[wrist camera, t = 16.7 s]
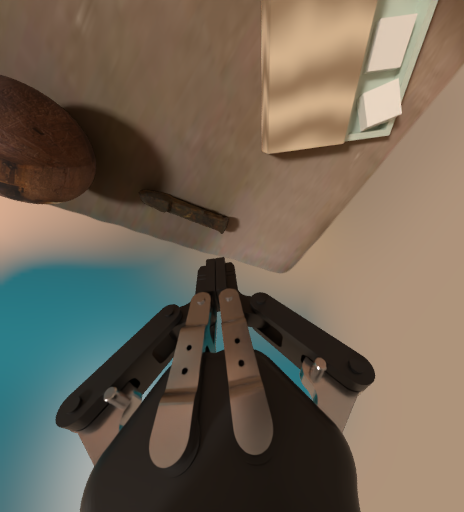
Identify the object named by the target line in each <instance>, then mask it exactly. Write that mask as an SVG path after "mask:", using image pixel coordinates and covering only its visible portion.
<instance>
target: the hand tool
mask: <svg viewBox="0 0 464 512" xmlns="http://www.w3.org/2000/svg"><path fill="white" fill-rule="evenodd" d="M139 194H140V198H141V199H142V201H143V203H144V204H146V205H148V206H150V207H153V208H155V209H157V210H159V211H161V212H169V213H172V214H175V215H178V216H180V217H183V218H185V219H188V220H190V221H193V222H196V223H199V224H201V225H204V226H206V227H209V228H212V229H215V230H217V231H219V232H220V233H221V234H223V233H224V231H225V229H226V228H227V224H228V217H223V216H221V215H217V214H214V213H212V212H210V211H206V210H204V209H201V208H200V207H197V206H194V205H191V204H189V203H186V202H184V201H181V200H178V199H176V198H174V197H172V196H171V195H169V194H166V193H162V192H157V191H151V190H141V191H140V192H139Z"/></svg>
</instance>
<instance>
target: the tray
mask: <svg viewBox="0 0 464 512" xmlns="http://www.w3.org/2000/svg"><path fill="white" fill-rule="evenodd" d="M437 2H438V0H377V5H376V9H375V13H374V17H373V22H372V26H371V30H370V34H369V38H368V43H367V47H366V51H365V55H364V60H363V64H362V68H361V72H360V76H359V81H358V85H357V89H356V93H355V98H354V102H353V106H352V110H351V114H350V119H349V123H348V127H347V131H346V136H345V140H344V141H352V140H359V139H366V138H374V137H381V136H388V135H390V132H391V129H392V126H393V124H394V121H395V118H394V119H393V120H390V121H388V122H385V123H382V124H380V125H377V126H375V127H372V128H370V129H367V130H364V131H362V132H361V131H360V124H359V116H358V109H357V101H356V100H357V99H358V98H359V97H360V96H361V95H362V94H363V93H365V92H368V91H370V90H372V89H374V88H377V87H379V86H381V85H384V84H386V83H388V82H391V81H393V80H395V79H398V78H399V86H400V98H401V102H402V99H403V96H404V93H405V90H406V88H407V85H408V82H409V79H410V77H411V74H412V71H413V68H414V66H415V63H416V60H417V57H418V55H419V52H420V49H421V46H422V44H423V41H424V38H425V35H426V32H427V30H428V27H429V24H430V21H431V19H432V16H433V13H434V10H435V8H436V5H437ZM416 13H418V15H417V18H416V21H415V24H414V27H413V30H412V33H411V36H410V39H409V42H408V45H407V48H406V51H405V54H404V57H403V60H402V63H401V66H400V67H399V68H396V69H394V70H391V71H385V72H378V73H371V74H363V75H362V73H363V69H364V65H365V61H366V57H367V53H368V49H369V45H370V40H371V36H372V32H373V28H374V24H375V22H377V21H378V20H380V19H381V18H387V17H394V16H402V15H409V14H416Z"/></svg>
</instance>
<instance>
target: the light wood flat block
mask: <svg viewBox="0 0 464 512" xmlns="http://www.w3.org/2000/svg"><path fill="white" fill-rule="evenodd" d="M376 5H377V0H261V62H262V151H263V152H265V153H267V154H271V153H279V152H286V151H293V150H301V149H308V148H315V147H322V146H330V145H337V144H344V140H345V136H346V131H347V127H348V123H349V119H350V114H351V110H352V106H353V102H354V98H355V93H356V89H357V85H358V81H359V76H360V72H361V68H362V64H363V60H364V55H365V51H366V47H367V43H368V38H369V34H370V30H371V26H372V22H373V17H374V13H375V9H376Z"/></svg>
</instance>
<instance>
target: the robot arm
mask: <svg viewBox="0 0 464 512" xmlns="http://www.w3.org/2000/svg"><path fill="white" fill-rule="evenodd" d="M197 276H198V277H197V284H196V293H195V295H194V296H193V298H192V300H191V302H190V303H188V304H186V305H184V306H181V307H179V306H177V305H175V304H173V305H168V306H166V307H164V308H163V309H162V310H161V311H160V312H159V313H157V314H156V315H155V316H154V317H153V318H152V319H151V320H150V321H149V322H148V323H147V324H146V325H145V326H144V327H143V328H142V329H140V330H139V331H138V332H137V333H136V334H135V335H134V336H133V337H132V338H131V339H130V340H129V341H127V342H126V343H125V344H124V345H123V346H122V347H121V348H120V349H119V350H118V351H117V352H116V353H114V354H113V355H112V356H111V357H110V358H109V359H108V360H107V361H106V362H105V363H104V364H103V365H102V366H101V367H99V368H98V369H97V370H96V371H95V372H94V373H93V374H92V375H91V376H90V377H89V378H88V379H87V380H85V382H83V383H82V384H81V385H80V386H79V387H78V388H77V389H76V390H75V391H74V392H73V393H71V394H70V395H69V396H68V397H67V399H66V400H65V401H64V402H63V403H62V405H61V406H60V408H59V410H58V412H57V415H56V424H57V426H59V427H61V428H65V429H68V430H70V431H72V432H75V433H78V435H79V436H80V438H81V440H82V443H83V444H84V446H85V448H86V450H87V452H88V454H89V456H90V458H91V460H92V462H93V464H94V468H93V470H92V472H91V474H90V477H89V479H88V481H87V484H86V487H85V490H84V493H83V497H82V501H81V508H80V512H360V507H359V500H358V492H357V474H356V467H355V463H354V459H353V456H352V453H351V450H350V447H349V445H348V443H347V441H346V439H345V437H344V436H343V434H342V432H343V430H344V428H345V425H346V423H347V420H348V418H349V415H350V413H351V410H352V408H353V406H354V403H355V401H356V398H357V396H359V395H360V394H361V393H362V392H363V391H364V390H365V389H366V388H367V387H368V386H369V385H370V384H371V383H372V382H373V381H374V379H375V372H374V369H373V367H372V365H371V364H370V362H369V361H368V360H367V359H366V358H365V357H363V356H362V355H360V354H359V353H357V352H356V351H354V350H353V349H351V348H350V347H348V346H347V345H345V344H343V343H342V342H340V341H339V340H337V339H336V338H334V337H333V336H331V335H329V334H328V333H326V332H325V331H323V330H322V329H320V328H318V327H317V326H316V325H314V324H312V323H311V322H309V321H308V320H306V319H305V318H303V317H302V316H300V315H298V314H297V313H295V312H294V311H292V310H291V309H289V308H288V307H286V306H285V305H283V304H281V303H280V302H278V301H277V300H275V299H274V298H272V297H271V296H269V295H268V294H266V293H261V292H259V293H256V294H254V295H252V297H251V296H245V295H242V294H241V293H240V292H239V291H238V287H237V281H236V274H235V268H234V265H233V264H232V263H231V262H229V263H225V258H224V257H221V258H216V259H207V260H206V266H201V267H200V269H199V270H198V275H197ZM218 311H221V319H222V323H221V324H222V334H223V341H224V350H222V351H219V352H217V353H216V333H217V312H218ZM248 326H249V327H253V329H254V330H255V331H256V332H257V333H258V334H260V335H261V336H262V337H263V338H264V339H265V340H267V341H268V342H269V343H270V344H271V345H272V346H274V347H275V348H276V349H277V350H278V351H279V352H281V353H282V354H283V355H284V356H285V357H287V358H288V359H289V360H290V361H291V362H292V363H294V364H295V365H296V366H297V367H298V368H299V369H300V379H301V381H302V384H303V385H304V386H305V388H306V389H307V390H308V391H309V393H310V394H311V396H312V399H313V401H312V400H311V399H310V398H309V397H308V396H307V395H306V394H305V393H304V392H303V391H302V390H301V389H300V388H299V387H298V386H297V385H296V384H295V383H294V382H293V381H292V380H291V379H290V378H289V377H288V376H287V375H286V374H285V373H284V372H283V371H282V370H281V369H280V368H279V367H278V366H277V365H276V364H275V363H274V362H273V361H272V360H271V359H270V358H269V357H267V356H266V355H264V354H263V353H262V352H260V351H257V350H254V349H253V346H252V342H251V338H250V334H249V330H248ZM173 357H174V358H173ZM172 358H173V362H172V365H171V366H170V367H169V368H168V369H167V371H166V372H165V373H164V374H163V375H162V377H161V378H160V379H159V381H158V382H157V383H156V384H155V386H154V387H153V388H152V390H151V391H150V392H149V394H148V395H147V396H146V397H145V399H144V400H143V401H142V395H143V394H144V392H145V391H146V390H147V389H148V387H149V386H150V385H151V384H152V383H153V381H154V380H155V379H156V378H157V376H158V375H159V374H160V373H161V372H162V370H163V369H164V368H165V367H166V366H167V364H168V363H169V362H170V361H171V359H172ZM141 402H142V403H141Z"/></svg>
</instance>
